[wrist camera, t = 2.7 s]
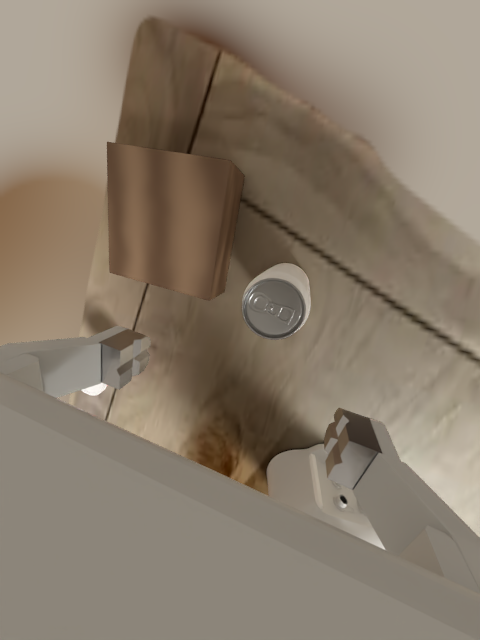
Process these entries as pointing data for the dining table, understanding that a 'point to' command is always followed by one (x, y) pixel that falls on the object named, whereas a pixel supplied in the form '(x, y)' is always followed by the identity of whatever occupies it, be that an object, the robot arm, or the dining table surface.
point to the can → (277, 302)
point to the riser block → (172, 218)
